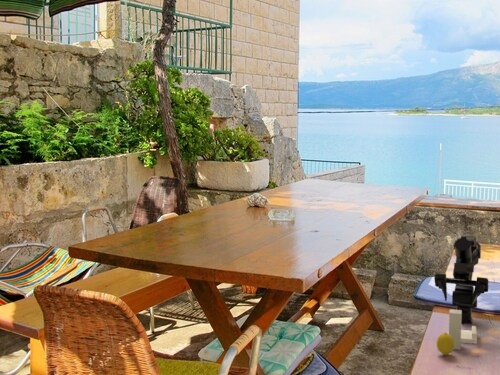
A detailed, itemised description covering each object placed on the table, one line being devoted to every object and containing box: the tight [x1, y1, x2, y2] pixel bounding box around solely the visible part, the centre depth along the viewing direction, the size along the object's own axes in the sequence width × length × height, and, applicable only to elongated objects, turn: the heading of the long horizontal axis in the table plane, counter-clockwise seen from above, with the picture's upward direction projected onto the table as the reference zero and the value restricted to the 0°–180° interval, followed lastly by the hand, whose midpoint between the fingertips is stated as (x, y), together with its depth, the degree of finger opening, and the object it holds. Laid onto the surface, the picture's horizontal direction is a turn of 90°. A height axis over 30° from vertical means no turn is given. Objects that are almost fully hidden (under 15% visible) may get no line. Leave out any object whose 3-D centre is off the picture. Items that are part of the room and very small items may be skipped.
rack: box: [461, 325, 478, 345], centre depth 219 cm, size 9×9×4 cm
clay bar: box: [448, 308, 462, 350], centre depth 211 cm, size 4×4×13 cm
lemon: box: [436, 332, 454, 356], centre depth 204 cm, size 6×6×8 cm
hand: (458, 302), depth 217 cm, fingers open, 9 cm apart
